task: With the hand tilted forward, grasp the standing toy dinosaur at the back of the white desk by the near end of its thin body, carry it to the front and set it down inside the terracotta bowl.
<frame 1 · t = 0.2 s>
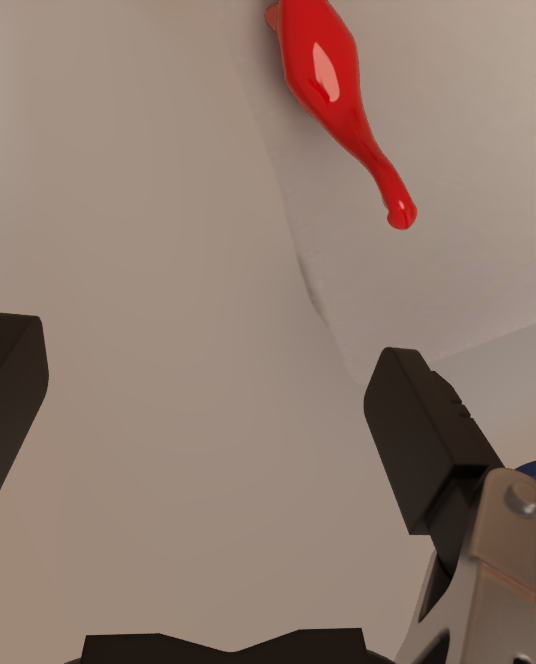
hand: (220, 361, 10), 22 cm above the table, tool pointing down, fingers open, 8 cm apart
dinosaur: (302, 53, 26), on the table
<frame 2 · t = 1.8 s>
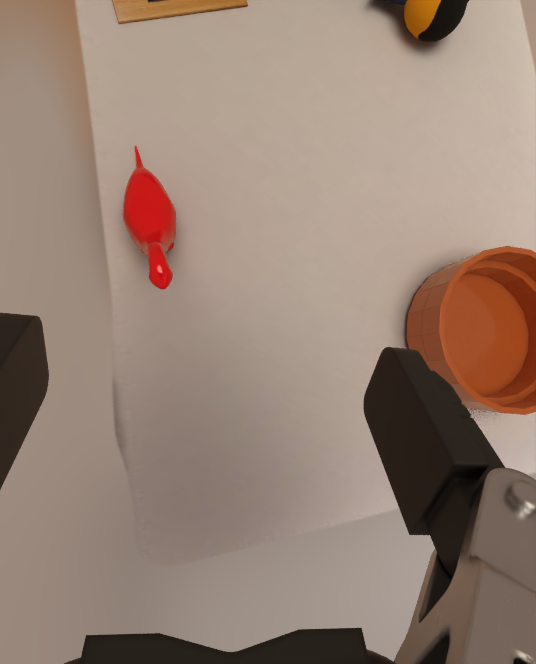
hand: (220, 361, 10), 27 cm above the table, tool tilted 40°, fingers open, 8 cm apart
character figurine: (400, 8, 44), on the table
terracotta bowl: (470, 334, 42), on the table
dinosaur: (153, 230, 38), on the table
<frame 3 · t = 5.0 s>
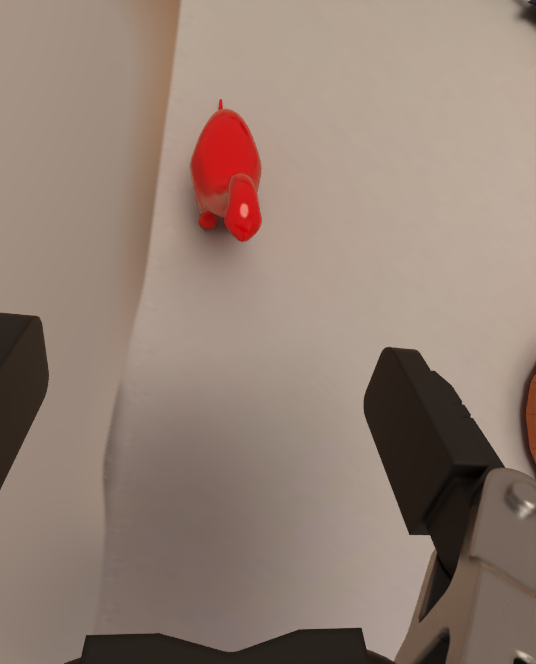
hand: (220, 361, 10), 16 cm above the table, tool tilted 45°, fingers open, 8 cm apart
dinosaur: (219, 203, 29), on the table
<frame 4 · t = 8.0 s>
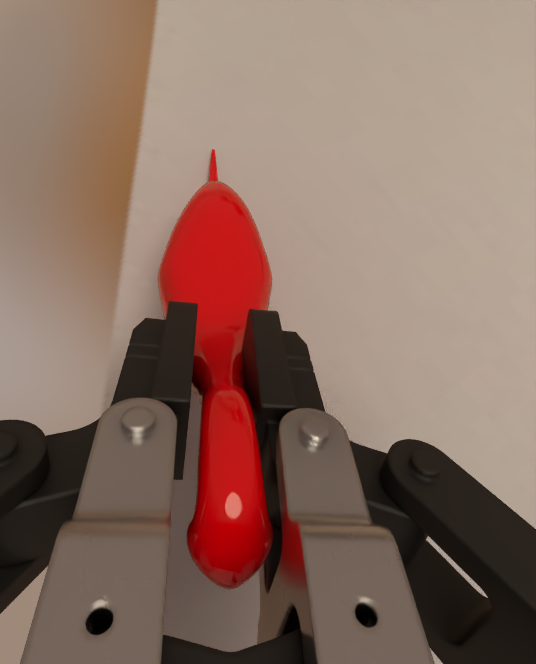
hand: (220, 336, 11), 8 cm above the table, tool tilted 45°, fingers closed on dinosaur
dinosaur: (212, 305, 20), on the table, touching gripper
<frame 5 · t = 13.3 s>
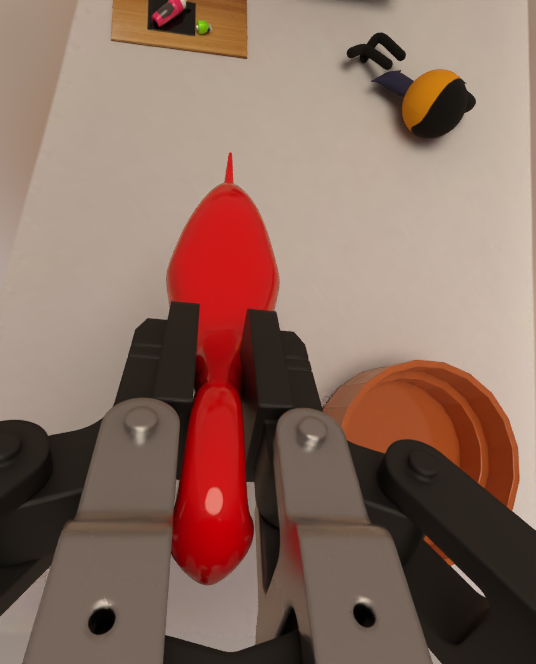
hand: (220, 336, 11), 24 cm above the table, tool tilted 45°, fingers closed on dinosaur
character figurine: (403, 100, 43), on the table
board: (181, 21, 40), on the table
terracotta bowl: (392, 451, 36), on the table
dinosaur: (222, 306, 20), point 16 cm above the table, touching gripper
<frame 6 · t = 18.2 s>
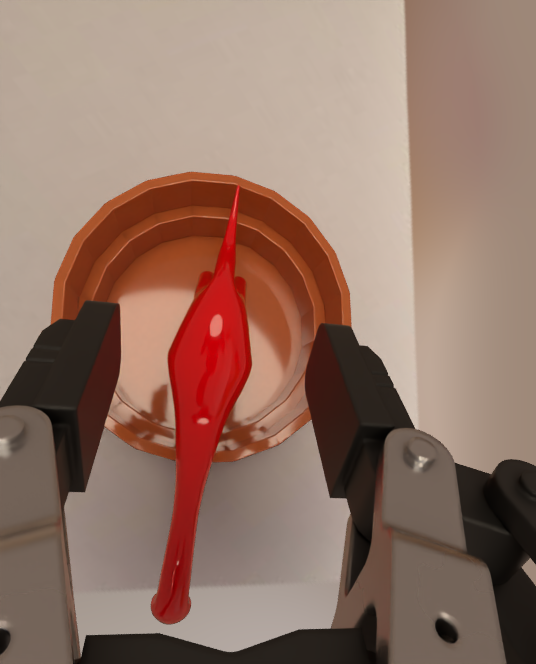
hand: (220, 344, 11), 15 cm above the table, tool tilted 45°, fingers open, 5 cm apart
terracotta bowl: (205, 331, 26), on the table
dinosaur: (216, 323, 24), point 2 cm above the table, touching terracotta bowl
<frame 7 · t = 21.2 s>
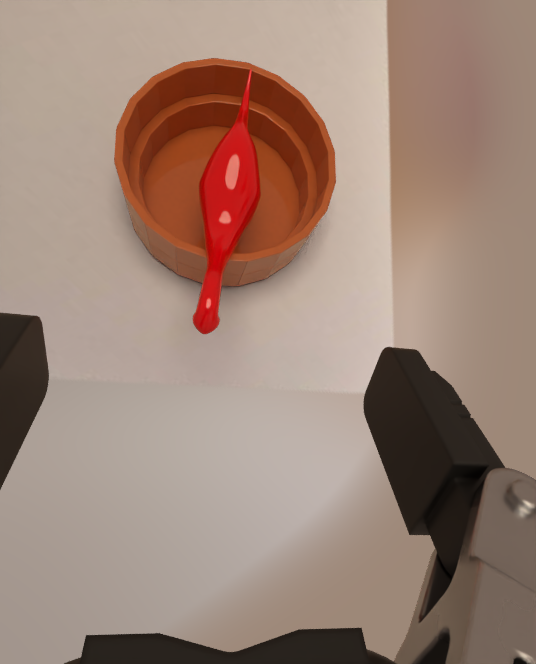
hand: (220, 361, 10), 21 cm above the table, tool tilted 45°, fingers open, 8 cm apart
terracotta bowl: (222, 200, 33), on the table
dinosaur: (232, 185, 31), point 2 cm above the table, touching terracotta bowl
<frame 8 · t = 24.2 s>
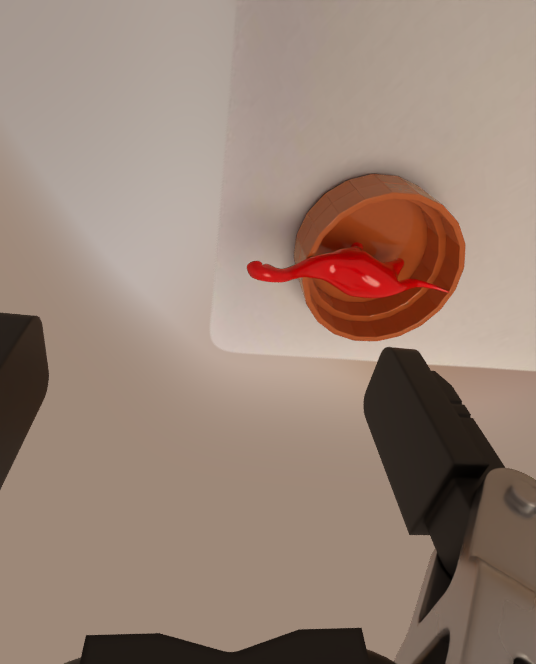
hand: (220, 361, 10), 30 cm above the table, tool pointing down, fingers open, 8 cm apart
terracotta bowl: (364, 246, 42), on the table
dinosaur: (370, 260, 41), point 2 cm above the table, touching terracotta bowl
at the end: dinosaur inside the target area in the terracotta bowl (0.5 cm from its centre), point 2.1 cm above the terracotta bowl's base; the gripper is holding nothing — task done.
